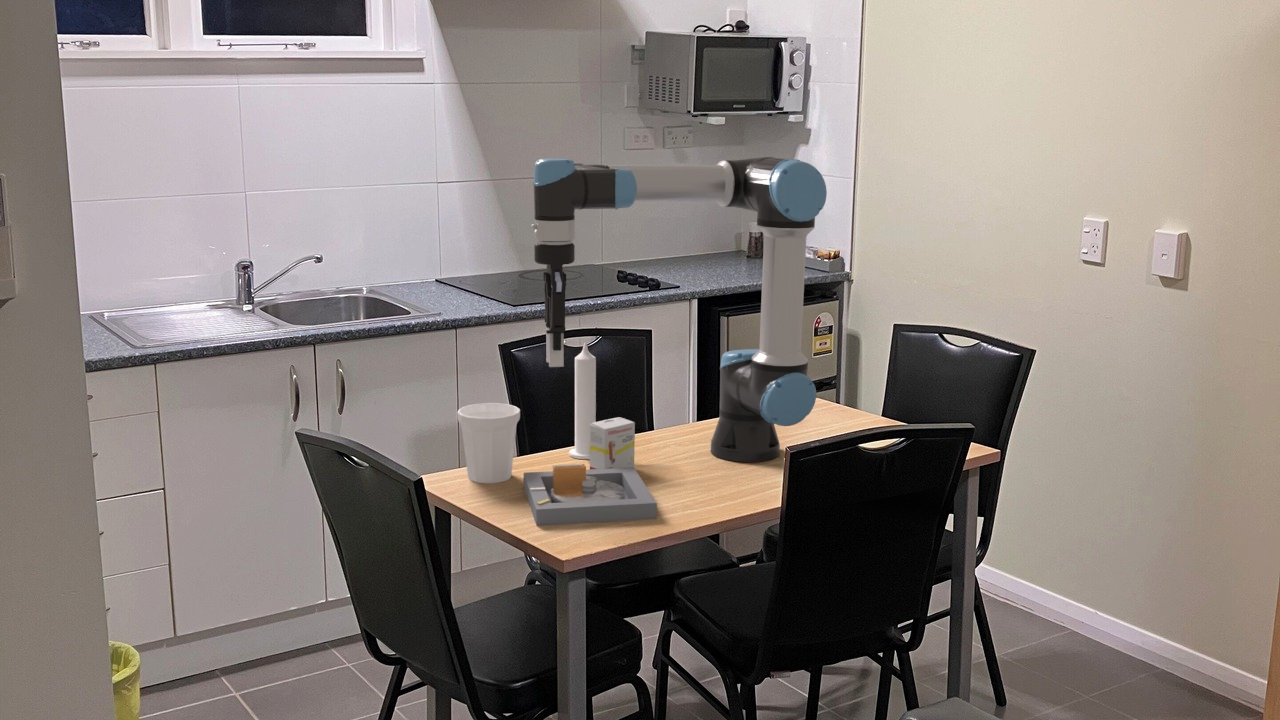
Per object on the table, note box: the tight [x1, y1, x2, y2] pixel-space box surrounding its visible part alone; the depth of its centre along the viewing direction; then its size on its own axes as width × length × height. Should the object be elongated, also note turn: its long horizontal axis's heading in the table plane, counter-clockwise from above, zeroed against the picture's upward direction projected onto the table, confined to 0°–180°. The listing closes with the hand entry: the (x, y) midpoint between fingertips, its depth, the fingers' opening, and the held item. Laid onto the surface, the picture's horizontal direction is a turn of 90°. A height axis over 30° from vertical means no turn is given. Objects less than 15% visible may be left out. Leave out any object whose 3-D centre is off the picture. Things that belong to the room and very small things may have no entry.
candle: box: [568, 342, 597, 460], centre depth 269 cm, size 7×7×25 cm
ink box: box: [589, 416, 636, 470], centre depth 255 cm, size 9×5×12 cm, turn 133°
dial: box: [551, 463, 625, 503], centre depth 235 cm, size 14×14×7 cm
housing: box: [523, 466, 658, 526], centre depth 236 cm, size 22×22×5 cm
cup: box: [456, 402, 521, 484], centre depth 250 cm, size 12×12×15 cm
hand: (554, 363), depth 239 cm, fingers open, 3 cm apart
